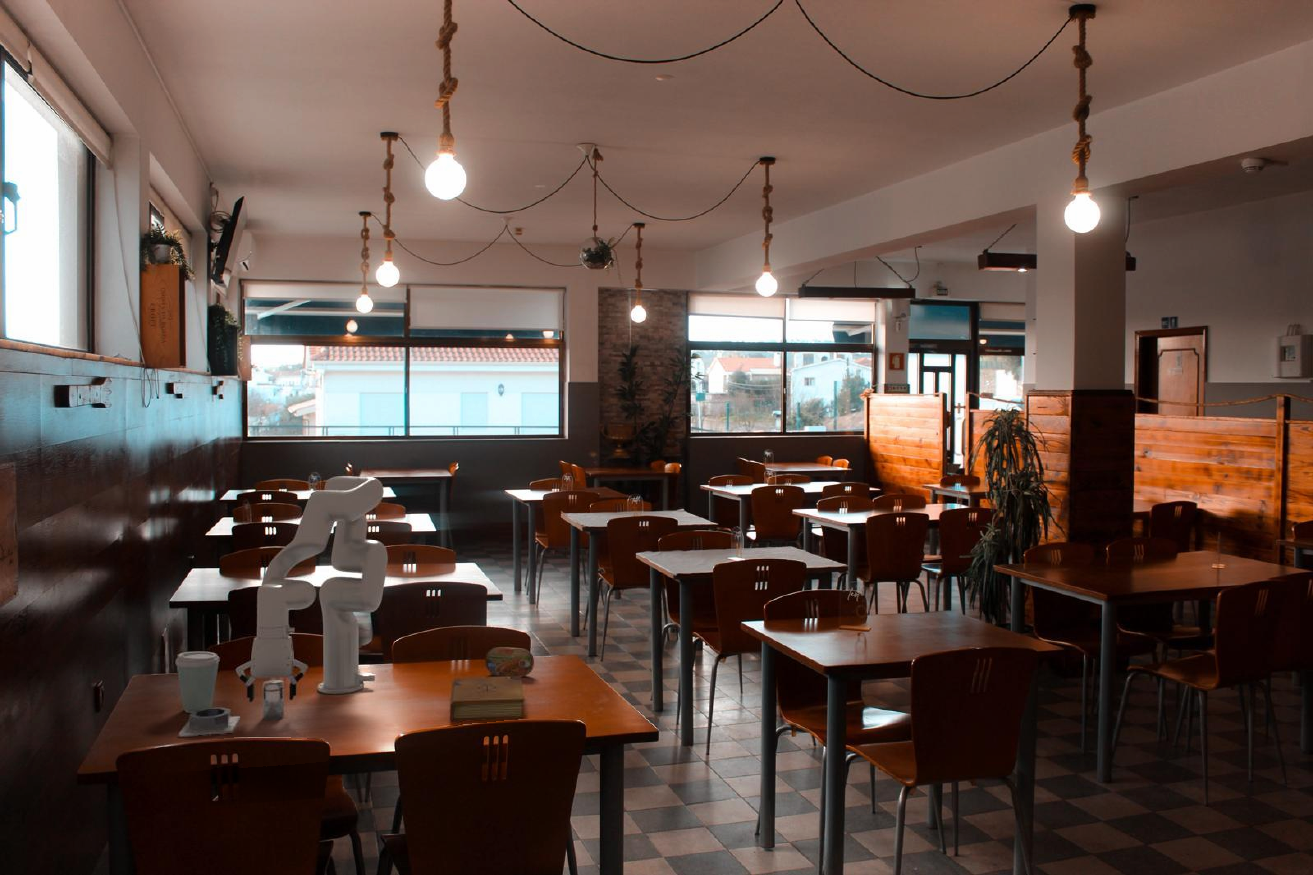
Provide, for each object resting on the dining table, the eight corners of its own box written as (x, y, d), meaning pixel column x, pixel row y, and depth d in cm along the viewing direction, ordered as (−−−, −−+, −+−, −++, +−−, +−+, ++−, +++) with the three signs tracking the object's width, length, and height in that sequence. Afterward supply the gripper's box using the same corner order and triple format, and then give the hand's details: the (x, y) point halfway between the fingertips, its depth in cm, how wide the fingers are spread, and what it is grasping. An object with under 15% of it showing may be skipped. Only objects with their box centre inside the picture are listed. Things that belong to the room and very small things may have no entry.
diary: (452, 699, 286) (452, 678, 286) (520, 696, 289) (520, 675, 289) (450, 723, 263) (450, 700, 263) (524, 720, 266) (524, 697, 266)
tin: (484, 674, 310) (484, 646, 310) (489, 672, 313) (489, 644, 313) (531, 678, 306) (531, 650, 305) (535, 676, 309) (535, 648, 308)
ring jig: (240, 719, 264) (240, 704, 264) (232, 733, 252) (232, 718, 252) (189, 722, 261) (189, 707, 261) (178, 737, 249) (178, 721, 249)
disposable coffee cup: (207, 701, 279) (207, 646, 279) (228, 709, 272) (227, 652, 272) (168, 710, 271) (167, 653, 271) (188, 718, 264) (187, 660, 264)
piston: (285, 714, 269) (284, 679, 268) (282, 719, 264) (282, 684, 264) (264, 715, 268) (264, 680, 267) (261, 721, 263) (261, 685, 262)
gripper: (309, 629, 271) (308, 694, 271) (238, 631, 267) (238, 697, 267) (306, 634, 263) (305, 701, 263) (234, 636, 259) (233, 705, 259)
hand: (271, 699), depth 265 cm, fingers open, 9 cm apart
